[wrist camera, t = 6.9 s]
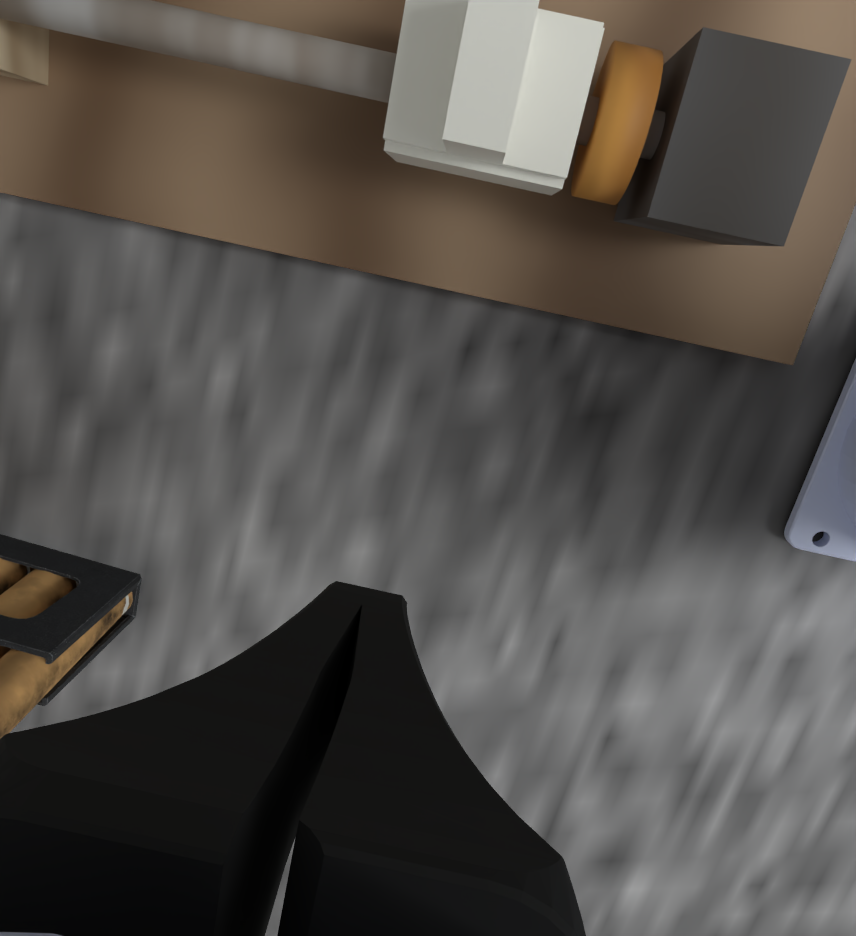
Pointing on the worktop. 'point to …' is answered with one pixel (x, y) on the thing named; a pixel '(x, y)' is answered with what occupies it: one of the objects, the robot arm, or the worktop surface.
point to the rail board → (452, 196)
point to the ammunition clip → (54, 621)
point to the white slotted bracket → (491, 90)
